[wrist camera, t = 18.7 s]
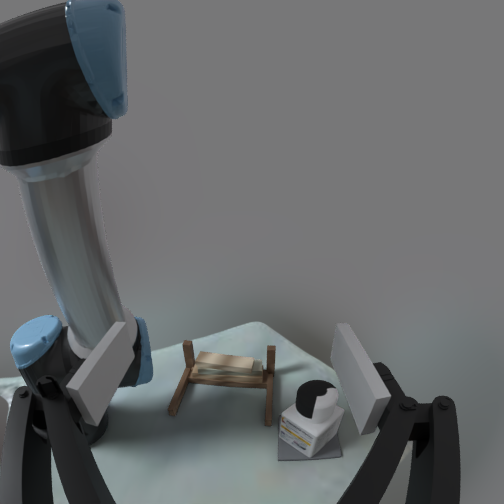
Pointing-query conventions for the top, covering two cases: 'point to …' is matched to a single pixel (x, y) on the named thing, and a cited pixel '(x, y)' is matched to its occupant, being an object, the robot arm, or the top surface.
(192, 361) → the walnut rack
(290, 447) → the rubber mat
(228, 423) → the top surface
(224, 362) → the offcut stack
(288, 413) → the container
